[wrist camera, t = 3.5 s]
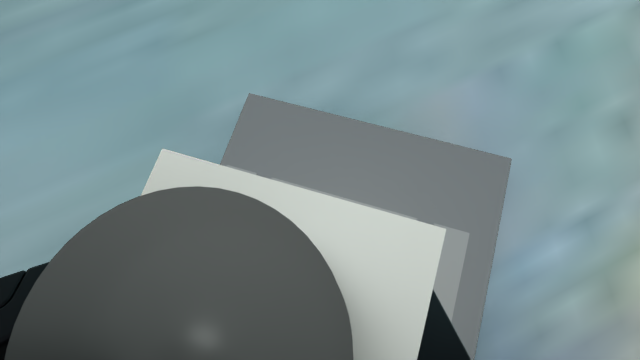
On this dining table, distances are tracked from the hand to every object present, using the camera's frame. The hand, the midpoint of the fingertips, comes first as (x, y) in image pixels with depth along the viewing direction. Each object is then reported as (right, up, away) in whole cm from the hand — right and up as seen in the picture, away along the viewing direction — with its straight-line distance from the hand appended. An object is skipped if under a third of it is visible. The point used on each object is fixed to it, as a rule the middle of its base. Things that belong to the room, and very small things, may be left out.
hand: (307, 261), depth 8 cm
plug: (0, -3, +6) cm, 7 cm away
